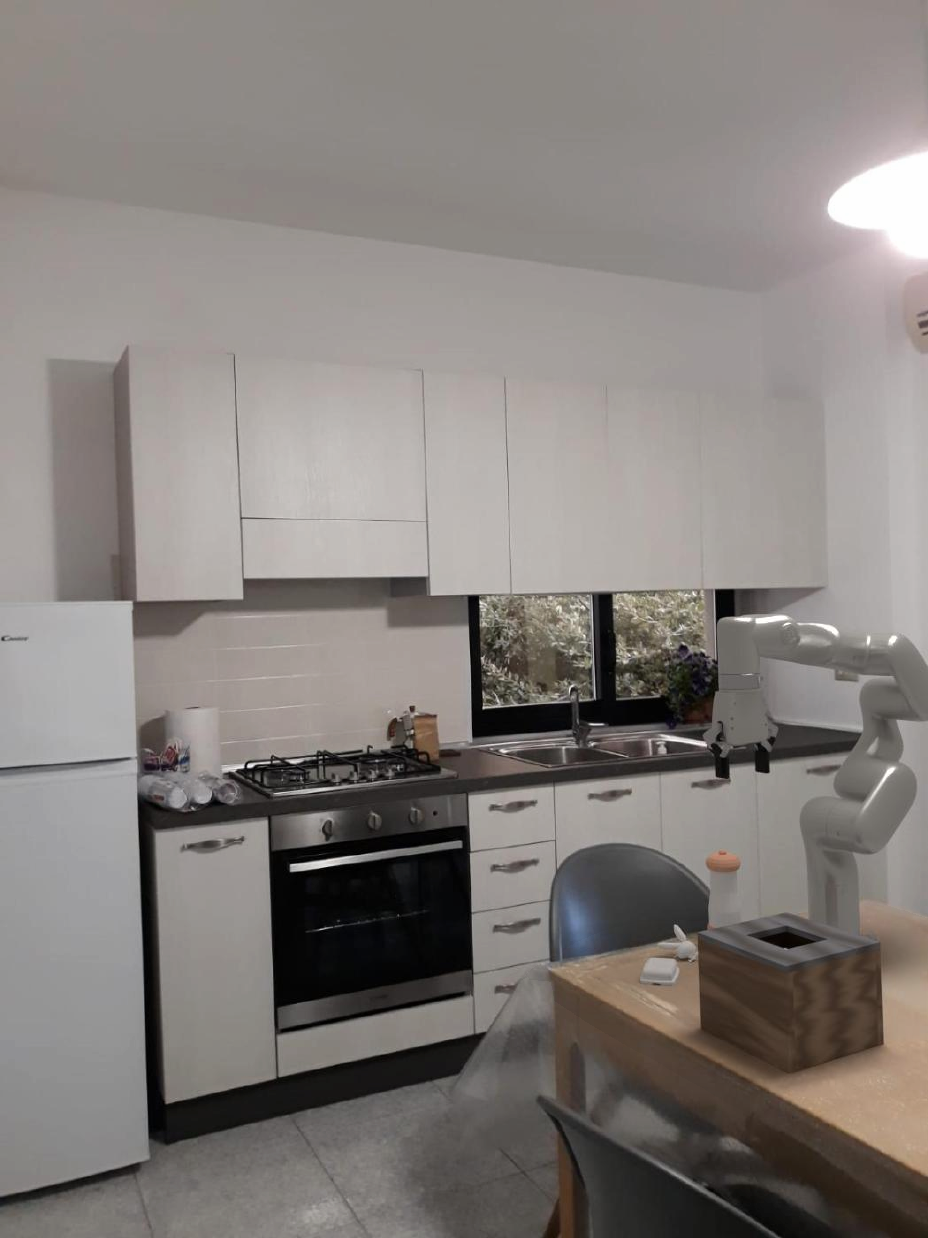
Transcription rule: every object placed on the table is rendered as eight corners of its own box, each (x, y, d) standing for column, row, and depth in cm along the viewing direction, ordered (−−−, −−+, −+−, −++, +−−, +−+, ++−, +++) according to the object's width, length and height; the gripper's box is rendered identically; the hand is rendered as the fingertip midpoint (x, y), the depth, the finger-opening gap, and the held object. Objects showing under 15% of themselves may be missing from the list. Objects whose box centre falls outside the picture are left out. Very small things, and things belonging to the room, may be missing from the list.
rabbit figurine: (684, 966, 205) (654, 940, 210) (686, 975, 208) (656, 950, 213) (705, 945, 207) (674, 920, 212) (706, 955, 210) (676, 930, 215)
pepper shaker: (719, 934, 224) (716, 844, 223) (750, 941, 218) (747, 849, 218) (701, 942, 218) (697, 850, 218) (731, 950, 213) (728, 855, 213)
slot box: (789, 1003, 184) (786, 912, 183) (883, 1043, 166) (880, 942, 166) (700, 1028, 174) (697, 932, 174) (790, 1073, 157) (786, 966, 156)
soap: (645, 969, 205) (645, 954, 205) (681, 972, 203) (680, 957, 203) (638, 985, 196) (637, 970, 196) (675, 988, 194) (674, 972, 194)
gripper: (760, 679, 202) (763, 768, 202) (689, 685, 194) (692, 778, 194) (789, 681, 195) (792, 773, 196) (717, 687, 187) (720, 783, 188)
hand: (742, 775), depth 195 cm, fingers open, 9 cm apart
